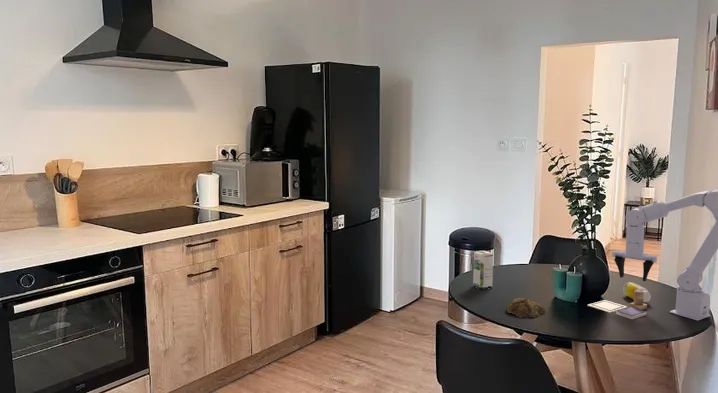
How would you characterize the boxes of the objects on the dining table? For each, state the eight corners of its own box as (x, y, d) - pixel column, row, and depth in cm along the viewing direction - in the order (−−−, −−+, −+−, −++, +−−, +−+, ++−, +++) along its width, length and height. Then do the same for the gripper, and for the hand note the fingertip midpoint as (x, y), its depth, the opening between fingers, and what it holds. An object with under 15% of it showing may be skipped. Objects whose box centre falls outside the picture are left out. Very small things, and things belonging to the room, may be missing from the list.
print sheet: (627, 307, 195) (627, 306, 195) (609, 312, 190) (609, 311, 190) (604, 300, 202) (604, 299, 202) (587, 305, 197) (587, 304, 197)
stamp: (646, 309, 193) (647, 292, 192) (640, 311, 191) (641, 294, 190) (636, 305, 197) (637, 289, 196) (629, 307, 195) (630, 291, 194)
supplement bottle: (622, 296, 207) (639, 305, 197) (621, 282, 207) (638, 291, 196) (636, 294, 208) (653, 303, 198) (635, 280, 207) (652, 288, 197)
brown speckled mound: (517, 304, 201) (517, 291, 200) (548, 312, 192) (549, 298, 191) (498, 313, 192) (498, 299, 191) (531, 321, 183) (531, 307, 183)
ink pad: (646, 314, 187) (646, 311, 187) (632, 319, 183) (632, 316, 183) (630, 309, 192) (630, 306, 192) (616, 314, 188) (616, 310, 188)
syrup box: (472, 286, 222) (473, 251, 220) (484, 284, 225) (484, 249, 223) (481, 290, 217) (481, 254, 215) (493, 287, 219) (493, 252, 217)
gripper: (660, 242, 194) (658, 279, 195) (616, 237, 203) (615, 272, 205) (655, 246, 188) (652, 284, 190) (610, 240, 198) (609, 277, 200)
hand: (633, 278), depth 197 cm, fingers open, 7 cm apart
